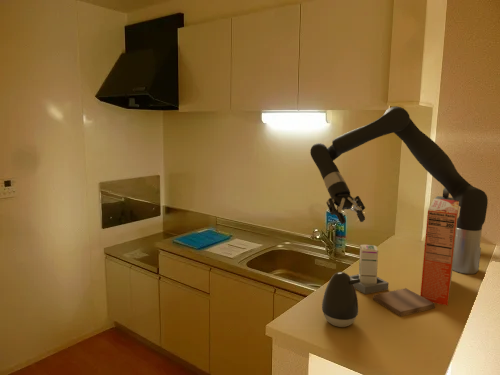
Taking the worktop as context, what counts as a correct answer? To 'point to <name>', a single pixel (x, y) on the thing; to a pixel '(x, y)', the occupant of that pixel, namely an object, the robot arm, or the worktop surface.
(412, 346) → the worktop surface
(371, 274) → the syrup box
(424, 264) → the pasta box
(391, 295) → the board
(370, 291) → the holder
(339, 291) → the pump dispenser
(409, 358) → the worktop surface
